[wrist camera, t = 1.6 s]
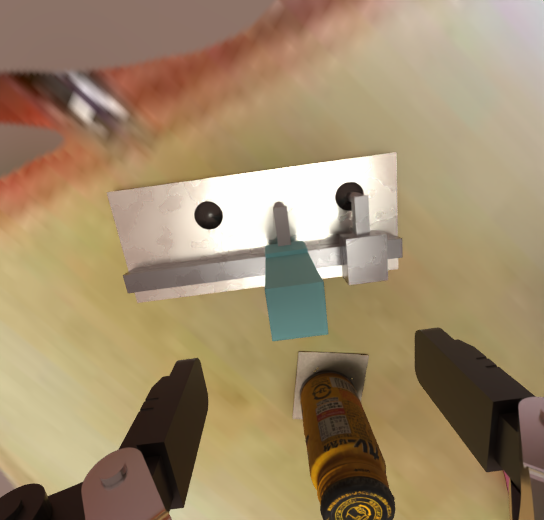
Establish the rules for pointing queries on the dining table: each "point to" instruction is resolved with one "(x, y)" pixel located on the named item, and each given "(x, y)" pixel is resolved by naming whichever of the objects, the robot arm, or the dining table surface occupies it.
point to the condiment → (341, 438)
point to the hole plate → (259, 226)
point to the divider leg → (292, 286)
